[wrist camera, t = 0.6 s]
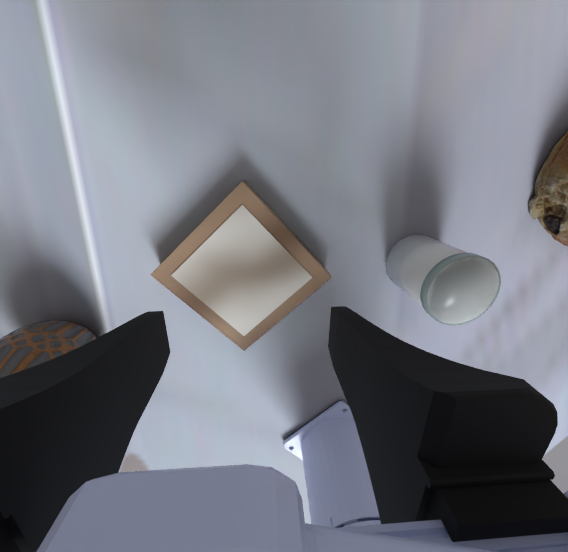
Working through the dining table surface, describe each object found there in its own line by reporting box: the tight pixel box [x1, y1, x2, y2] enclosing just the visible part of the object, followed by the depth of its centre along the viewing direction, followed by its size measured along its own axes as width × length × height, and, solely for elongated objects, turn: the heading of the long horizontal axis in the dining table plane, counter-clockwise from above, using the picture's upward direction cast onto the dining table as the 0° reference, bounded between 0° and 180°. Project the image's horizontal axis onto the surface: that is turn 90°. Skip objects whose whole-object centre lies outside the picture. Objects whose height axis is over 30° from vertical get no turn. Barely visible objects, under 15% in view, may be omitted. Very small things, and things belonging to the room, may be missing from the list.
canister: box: [386, 234, 501, 325], centre depth 19 cm, size 5×5×6 cm
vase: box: [0, 320, 97, 378], centre depth 19 cm, size 7×7×9 cm
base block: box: [151, 180, 331, 351], centre depth 20 cm, size 9×9×2 cm
